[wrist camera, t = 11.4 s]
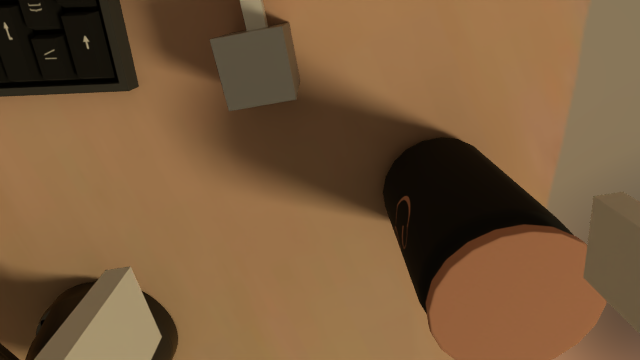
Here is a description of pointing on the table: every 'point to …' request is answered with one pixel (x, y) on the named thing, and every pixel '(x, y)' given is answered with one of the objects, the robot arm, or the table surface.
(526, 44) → the table surface
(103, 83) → the computer keyboard
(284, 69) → the charger
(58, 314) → the robot arm
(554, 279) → the coffee jar
